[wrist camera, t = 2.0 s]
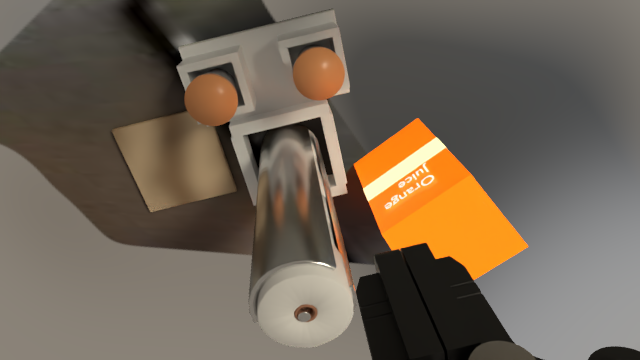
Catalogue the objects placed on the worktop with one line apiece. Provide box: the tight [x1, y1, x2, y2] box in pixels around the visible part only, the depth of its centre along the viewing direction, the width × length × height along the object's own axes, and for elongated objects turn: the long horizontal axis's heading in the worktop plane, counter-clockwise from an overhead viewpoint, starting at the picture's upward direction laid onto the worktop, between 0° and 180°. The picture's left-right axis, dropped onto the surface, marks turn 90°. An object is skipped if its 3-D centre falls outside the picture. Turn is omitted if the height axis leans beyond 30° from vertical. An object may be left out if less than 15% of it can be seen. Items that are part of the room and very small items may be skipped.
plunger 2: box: [293, 45, 345, 100], centre depth 37 cm, size 4×4×5 cm
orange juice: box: [354, 118, 528, 280], centre depth 40 cm, size 8×9×20 cm
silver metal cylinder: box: [249, 123, 356, 348], centre depth 36 cm, size 6×6×25 cm
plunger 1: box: [184, 68, 238, 126], centre depth 37 cm, size 4×4×5 cm
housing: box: [177, 9, 350, 206], centre depth 43 cm, size 15×18×5 cm
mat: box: [112, 111, 237, 212], centre depth 46 cm, size 10×10×1 cm
